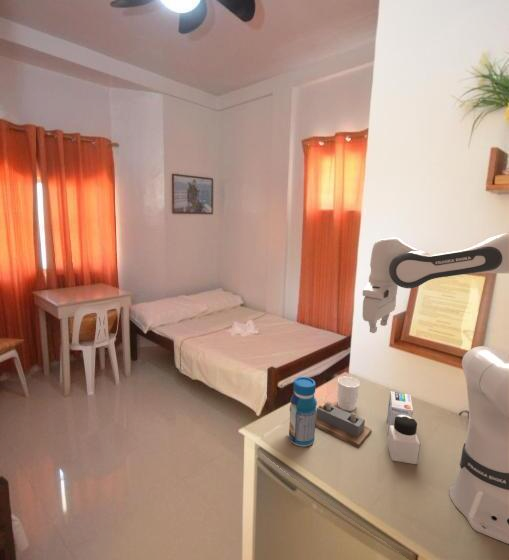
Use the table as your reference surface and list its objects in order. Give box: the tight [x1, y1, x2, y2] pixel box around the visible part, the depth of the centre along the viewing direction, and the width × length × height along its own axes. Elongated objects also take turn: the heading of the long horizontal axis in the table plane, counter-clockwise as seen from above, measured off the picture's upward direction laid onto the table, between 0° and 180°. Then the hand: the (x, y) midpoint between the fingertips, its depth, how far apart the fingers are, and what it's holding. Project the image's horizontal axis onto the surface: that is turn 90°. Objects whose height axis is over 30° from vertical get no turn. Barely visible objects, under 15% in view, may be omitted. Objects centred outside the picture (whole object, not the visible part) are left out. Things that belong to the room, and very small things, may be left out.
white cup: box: [336, 376, 360, 412], centre depth 124 cm, size 8×8×10 cm
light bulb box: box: [386, 390, 414, 436], centre depth 111 cm, size 11×7×11 cm, turn 160°
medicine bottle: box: [387, 415, 421, 465], centre depth 99 cm, size 7×7×12 cm
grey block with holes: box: [316, 401, 366, 438], centre depth 111 cm, size 15×5×5 cm, turn 50°
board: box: [315, 401, 372, 449], centre depth 111 cm, size 18×10×7 cm, turn 49°
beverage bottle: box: [288, 376, 318, 447], centre depth 104 cm, size 8×8×20 cm
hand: (378, 328), depth 110 cm, fingers open, 8 cm apart
